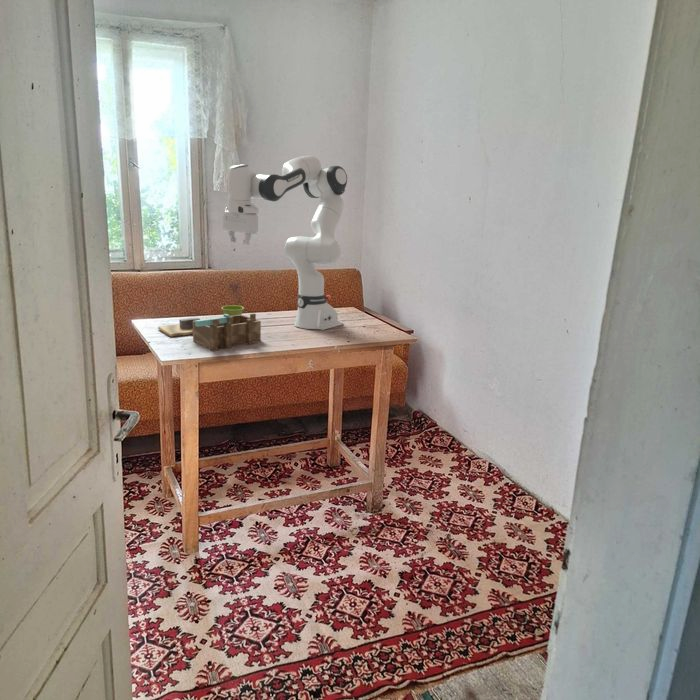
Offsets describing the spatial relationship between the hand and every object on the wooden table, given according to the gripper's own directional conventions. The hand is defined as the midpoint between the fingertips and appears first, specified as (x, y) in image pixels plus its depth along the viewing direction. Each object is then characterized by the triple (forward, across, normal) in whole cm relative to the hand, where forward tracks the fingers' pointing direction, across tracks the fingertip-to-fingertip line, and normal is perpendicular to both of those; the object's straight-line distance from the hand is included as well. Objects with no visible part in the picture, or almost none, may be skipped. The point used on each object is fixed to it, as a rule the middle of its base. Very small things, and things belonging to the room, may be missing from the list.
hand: (239, 243), depth 237 cm
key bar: (+27, +14, -21) cm, 37 cm away
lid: (+38, -15, -14) cm, 43 cm away
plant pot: (+37, -12, +4) cm, 39 cm away
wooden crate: (+37, +8, -10) cm, 39 cm away
